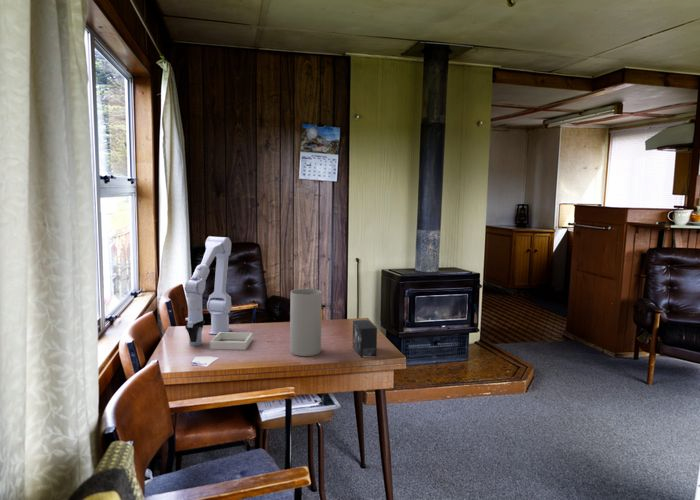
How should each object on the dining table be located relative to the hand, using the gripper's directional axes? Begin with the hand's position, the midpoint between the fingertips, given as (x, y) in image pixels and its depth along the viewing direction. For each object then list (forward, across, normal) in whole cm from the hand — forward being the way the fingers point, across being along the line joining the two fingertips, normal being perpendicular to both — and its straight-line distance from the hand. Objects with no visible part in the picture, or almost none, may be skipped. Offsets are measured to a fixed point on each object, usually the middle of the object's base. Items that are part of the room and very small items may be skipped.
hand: (195, 339), depth 209 cm
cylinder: (+2, 0, 0) cm, 2 cm away
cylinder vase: (+2, +7, +47) cm, 48 cm away
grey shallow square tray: (+2, -2, +15) cm, 15 cm away
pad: (+2, -2, +15) cm, 15 cm away
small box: (+2, +5, +71) cm, 71 cm away
